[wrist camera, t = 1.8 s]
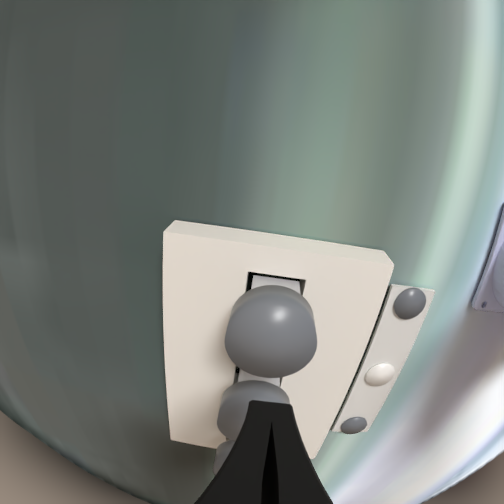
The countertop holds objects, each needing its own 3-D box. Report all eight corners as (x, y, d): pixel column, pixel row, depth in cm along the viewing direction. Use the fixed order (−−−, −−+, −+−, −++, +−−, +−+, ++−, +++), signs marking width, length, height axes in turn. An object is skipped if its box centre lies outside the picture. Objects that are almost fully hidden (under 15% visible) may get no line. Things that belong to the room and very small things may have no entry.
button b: (295, 358, 19) (297, 408, 15) (283, 400, 20) (282, 448, 17) (229, 349, 19) (218, 398, 15) (224, 393, 21) (215, 440, 17)
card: (433, 288, 18) (437, 291, 18) (366, 429, 24) (367, 434, 23) (391, 282, 18) (393, 286, 18) (331, 429, 24) (331, 433, 23)
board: (383, 250, 18) (394, 265, 16) (313, 440, 25) (314, 458, 23) (175, 220, 18) (163, 231, 16) (176, 422, 25) (170, 439, 23)
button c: (278, 418, 21) (276, 464, 17) (269, 446, 23) (266, 488, 19) (222, 411, 21) (213, 456, 18) (219, 440, 23) (211, 481, 19)
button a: (317, 269, 17) (327, 312, 13) (302, 332, 18) (305, 382, 14) (240, 258, 17) (228, 299, 13) (232, 322, 18) (221, 371, 14)
